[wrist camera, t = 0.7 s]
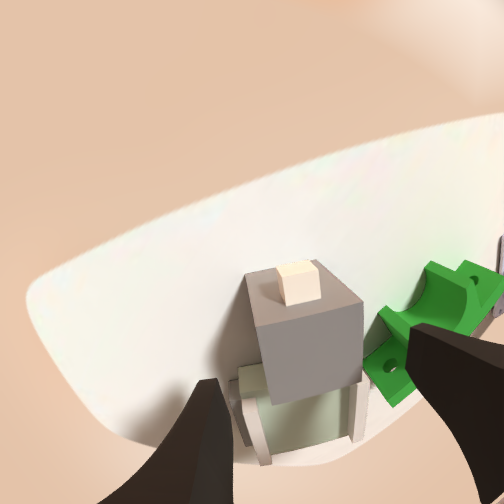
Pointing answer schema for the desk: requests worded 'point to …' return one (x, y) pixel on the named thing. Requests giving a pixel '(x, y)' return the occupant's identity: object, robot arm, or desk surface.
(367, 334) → the desk surface
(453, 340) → the robot arm
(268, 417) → the pale grey-green blocky piece
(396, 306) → the desk surface
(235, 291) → the desk surface
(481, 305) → the pipe clamp
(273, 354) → the dark grey block
